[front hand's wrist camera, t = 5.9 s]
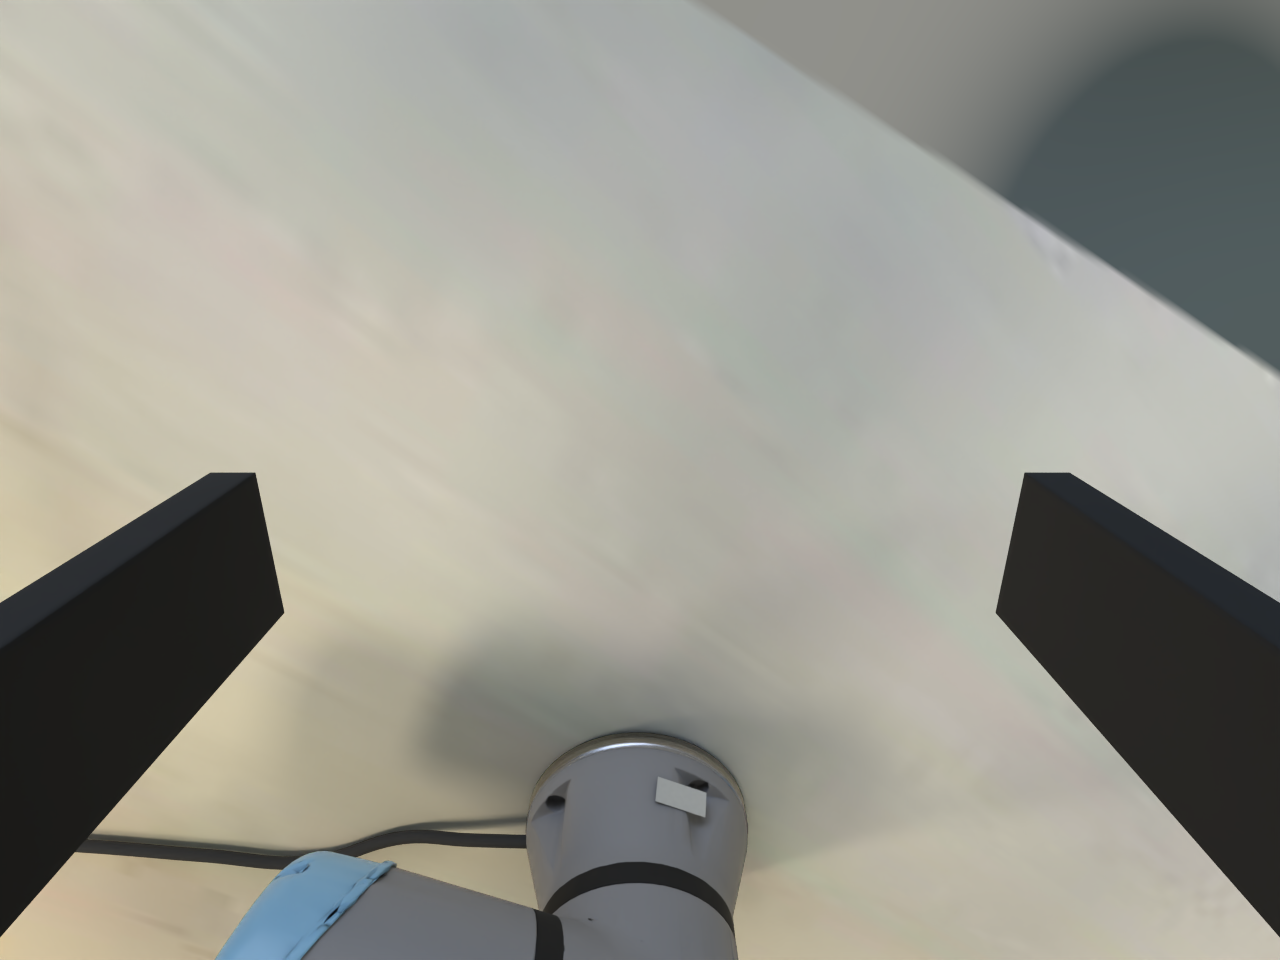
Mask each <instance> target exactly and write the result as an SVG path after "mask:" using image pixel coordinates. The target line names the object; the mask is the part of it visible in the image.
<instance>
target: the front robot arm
mask: <svg viewBox="0 0 1280 960" xmlns="http://www.w3.org/2000/svg"><path fill="white" fill-rule="evenodd" d="M283 614H284V609H283V604H282V599H281V594H280V589H279V585H278V580H277V575H276V570H275V565H274V560H273V556H272V551H271V546H270V541H269V536H268V531H267V527H266V522H265V517H264V512H263V507H262V503H261V498H260V493H259V488H258V483H257V478H256V474H255V473H209V474H208V475H206V476H204V477H203V478H201V479H200V480H198V481H196V482H195V483H193V484H191V485H190V486H188V487H187V488H185V489H183V490H182V491H180V492H179V493H177V494H175V495H174V496H172V497H170V498H169V499H167V500H166V501H164V502H162V503H161V504H159V505H158V506H156V507H154V508H153V509H151V510H149V511H148V512H146V513H145V514H143V515H141V516H140V517H138V518H137V519H135V520H133V521H132V522H130V523H128V524H127V525H125V526H124V527H122V528H120V529H119V530H117V531H116V532H114V533H112V534H111V535H109V536H108V537H106V538H104V539H103V540H101V541H99V542H98V543H96V544H95V545H93V546H91V547H90V548H88V549H87V550H85V551H83V552H82V553H80V554H78V555H77V556H75V557H74V558H72V559H70V560H69V561H67V562H66V563H64V564H62V565H61V566H59V567H57V568H56V569H54V570H53V571H51V572H49V573H48V574H46V575H45V576H43V577H41V578H40V579H38V580H36V581H35V582H33V583H32V584H30V585H28V586H27V587H25V588H24V589H22V590H20V591H19V592H17V593H15V594H14V595H12V596H11V597H9V598H7V599H6V600H4V601H3V602H1V603H0V937H1V936H2V935H3V933H4V932H5V931H6V930H7V929H8V928H9V927H10V925H11V924H12V923H13V922H14V921H15V920H16V919H17V917H18V916H19V915H20V914H21V913H22V912H23V911H24V909H25V908H26V907H27V906H28V905H29V904H30V903H31V901H32V900H33V899H34V898H35V897H36V896H37V895H38V893H39V892H40V891H41V890H42V889H43V888H44V887H45V885H46V884H47V883H48V882H49V881H50V880H51V879H52V877H53V876H54V875H55V874H56V873H57V872H58V871H59V869H60V868H61V867H62V866H63V865H64V864H65V863H66V861H67V860H68V859H69V858H70V857H71V856H72V855H73V853H74V852H82V853H97V854H110V855H123V856H135V857H147V858H158V859H170V860H182V861H195V862H208V863H219V864H228V865H236V866H245V867H253V868H263V869H279V870H282V871H281V872H280V873H279V874H278V875H277V876H276V877H275V878H274V879H273V880H272V882H271V883H270V884H269V885H268V886H267V887H266V889H265V890H264V891H263V892H262V893H261V895H260V896H259V897H258V899H257V900H256V901H255V902H254V904H253V905H252V907H251V908H250V909H249V911H248V912H247V913H246V915H245V916H244V917H243V919H242V920H241V922H240V923H239V925H238V926H237V927H236V929H235V930H234V932H233V933H232V935H231V936H230V938H229V939H228V940H227V942H226V943H225V945H224V946H223V948H222V949H221V951H220V952H219V954H218V955H217V957H216V958H215V960H738V954H737V946H736V941H735V933H734V924H733V914H734V909H735V904H736V899H737V895H738V890H739V885H740V880H741V875H742V871H743V866H744V861H745V856H746V852H747V839H748V824H747V818H746V812H745V807H744V801H743V797H742V794H741V791H740V789H739V787H738V785H737V783H736V781H735V780H734V778H733V776H732V775H731V774H730V773H729V771H728V770H727V769H726V768H725V767H724V766H723V765H722V764H721V763H720V762H719V761H718V760H717V759H716V758H714V757H713V756H712V755H710V754H709V753H707V752H706V751H704V750H702V749H701V748H699V747H697V746H695V745H693V744H691V743H688V742H686V741H683V740H680V739H677V738H674V737H670V736H666V735H660V734H654V733H620V734H614V735H608V736H604V737H600V738H597V739H593V740H590V741H588V742H585V743H583V744H581V745H579V746H577V747H575V748H573V749H571V750H569V751H568V752H566V753H565V754H563V755H562V756H561V757H559V758H558V759H557V760H556V761H554V762H553V763H552V764H551V765H550V766H549V767H548V769H547V770H546V771H545V772H544V773H543V775H542V776H541V778H540V779H539V781H538V782H537V784H536V787H535V789H534V791H533V794H532V797H531V801H530V806H529V811H528V816H527V822H526V835H507V834H472V833H455V832H445V831H434V830H409V831H401V832H394V833H389V834H385V835H381V836H378V837H375V838H371V839H369V840H366V841H363V842H360V843H358V844H355V845H352V846H349V847H347V848H344V849H340V850H337V851H334V852H329V851H317V852H312V853H309V854H306V855H304V856H293V857H288V856H267V855H258V854H249V853H241V852H233V851H224V850H213V849H201V848H188V847H175V846H164V845H152V844H141V843H129V842H116V841H103V840H89V839H87V838H88V836H89V835H90V834H91V833H92V832H93V831H94V830H95V828H96V827H97V826H98V825H99V824H100V823H101V822H102V820H103V819H104V818H105V817H106V816H107V815H108V814H109V812H110V811H111V810H112V809H113V808H114V807H115V806H116V804H117V803H118V802H119V801H120V800H121V799H122V798H123V796H124V795H125V794H126V793H127V792H128V791H129V790H130V788H131V787H132V786H133V785H134V784H135V783H136V782H137V780H138V779H139V778H140V777H141V776H142V775H143V774H144V772H145V771H146V770H147V769H148V768H149V767H150V766H151V764H152V763H153V762H154V761H155V760H156V759H157V758H158V756H159V755H160V754H161V753H162V752H163V751H164V750H165V748H166V747H167V746H168V745H169V744H170V743H171V742H172V740H173V739H174V738H175V737H176V736H177V735H178V734H179V732H180V731H181V730H182V729H183V728H184V727H185V726H186V724H187V723H188V722H189V721H190V720H191V719H192V718H193V716H194V715H195V714H196V713H197V712H198V711H199V710H200V708H201V707H202V706H203V705H204V704H205V703H206V702H207V700H208V699H209V698H210V697H211V696H212V695H213V694H214V692H215V691H216V690H217V689H218V688H219V687H220V686H221V684H222V683H223V682H224V681H225V680H226V679H227V678H228V676H229V675H230V674H231V673H232V672H233V671H234V670H235V669H236V667H237V666H238V665H239V664H240V663H241V662H242V661H243V659H244V658H245V657H246V656H247V655H248V654H249V653H250V651H251V650H252V649H253V648H254V647H255V646H256V645H257V643H258V642H259V641H260V640H261V639H262V638H263V637H264V635H265V634H266V633H267V632H268V631H269V630H270V629H271V627H272V626H273V625H274V624H275V623H276V622H277V621H278V619H279V618H280V617H281V616H282V615H283ZM996 614H997V615H998V616H999V617H1000V618H1001V619H1002V621H1003V622H1004V623H1005V624H1006V625H1007V626H1008V627H1009V629H1010V630H1011V631H1012V632H1013V633H1014V634H1015V635H1016V637H1017V638H1018V639H1019V640H1020V641H1021V642H1022V643H1023V645H1024V646H1025V647H1026V648H1027V649H1028V650H1029V651H1030V653H1031V654H1032V655H1033V656H1034V657H1035V658H1036V659H1037V661H1038V662H1039V663H1040V664H1041V665H1042V666H1043V667H1044V669H1045V670H1046V671H1047V672H1048V673H1049V674H1050V675H1051V677H1052V678H1053V679H1054V680H1055V681H1056V682H1057V683H1058V684H1059V686H1060V687H1061V688H1062V689H1063V690H1064V691H1065V692H1066V694H1067V695H1068V696H1069V697H1070V698H1071V699H1072V700H1073V702H1074V703H1075V704H1076V705H1077V706H1078V707H1079V708H1080V710H1081V711H1082V712H1083V713H1084V714H1085V715H1086V716H1087V718H1088V719H1089V720H1090V721H1091V722H1092V723H1093V724H1094V726H1095V727H1096V728H1097V729H1098V730H1099V731H1100V732H1101V734H1102V735H1103V736H1104V737H1105V738H1106V739H1107V740H1108V742H1109V743H1110V744H1111V745H1112V746H1113V747H1114V748H1115V750H1116V751H1117V752H1118V753H1119V754H1120V755H1121V756H1122V758H1123V759H1124V760H1125V761H1126V762H1127V763H1128V764H1129V766H1130V767H1131V768H1132V769H1133V770H1134V771H1135V772H1136V774H1137V775H1138V776H1139V777H1140V778H1141V779H1142V780H1143V782H1144V783H1145V784H1146V785H1147V786H1148V787H1149V788H1150V790H1151V791H1152V792H1153V793H1154V794H1155V795H1156V796H1157V798H1158V799H1159V800H1160V801H1161V802H1162V803H1163V804H1164V806H1165V807H1166V808H1167V809H1168V810H1169V811H1170V812H1171V814H1172V815H1173V816H1174V817H1175V818H1176V819H1177V820H1178V822H1179V823H1180V824H1181V825H1182V826H1183V827H1184V828H1185V830H1186V831H1187V832H1188V833H1189V834H1190V835H1191V836H1192V838H1193V839H1194V840H1195V841H1196V842H1197V843H1198V844H1199V845H1200V847H1201V848H1202V849H1203V850H1204V851H1205V852H1206V853H1207V855H1208V856H1209V857H1210V858H1211V859H1212V860H1213V861H1214V863H1215V864H1216V865H1217V866H1218V867H1219V868H1220V869H1221V871H1222V872H1223V873H1224V874H1225V875H1226V876H1227V877H1228V879H1229V880H1230V881H1231V882H1232V883H1233V884H1234V885H1235V887H1236V888H1237V889H1238V890H1239V891H1240V892H1241V893H1242V895H1243V896H1244V897H1245V898H1246V899H1247V900H1248V901H1249V903H1250V904H1251V905H1252V906H1253V907H1254V908H1255V909H1256V911H1257V912H1258V913H1259V914H1260V915H1261V916H1262V917H1263V919H1264V920H1265V921H1266V922H1267V923H1268V924H1269V925H1270V927H1271V928H1272V929H1273V930H1274V931H1275V932H1276V933H1277V935H1278V936H1279V937H1280V603H1279V602H1277V601H1276V600H1274V599H1273V598H1271V597H1269V596H1268V595H1266V594H1265V593H1263V592H1261V591H1260V590H1258V589H1256V588H1255V587H1253V586H1252V585H1250V584H1248V583H1247V582H1245V581H1244V580H1242V579H1240V578H1239V577H1237V576H1235V575H1234V574H1232V573H1231V572H1229V571H1227V570H1226V569H1224V568H1223V567H1221V566H1219V565H1218V564H1216V563H1214V562H1213V561H1211V560H1210V559H1208V558H1206V557H1205V556H1203V555H1202V554H1200V553H1198V552H1197V551H1195V550H1193V549H1192V548H1190V547H1189V546H1187V545H1185V544H1184V543H1182V542H1181V541H1179V540H1177V539H1176V538H1174V537H1172V536H1171V535H1169V534H1168V533H1166V532H1164V531H1163V530H1161V529H1160V528H1158V527H1156V526H1155V525H1153V524H1152V523H1150V522H1148V521H1147V520H1145V519H1143V518H1142V517H1140V516H1139V515H1137V514H1135V513H1134V512H1132V511H1131V510H1129V509H1127V508H1126V507H1124V506H1122V505H1121V504H1119V503H1118V502H1116V501H1114V500H1113V499H1111V498H1110V497H1108V496H1106V495H1105V494H1103V493H1101V492H1100V491H1098V490H1097V489H1095V488H1093V487H1092V486H1090V485H1089V484H1087V483H1085V482H1084V481H1082V480H1080V479H1079V478H1077V477H1076V476H1074V475H1072V474H1071V473H1025V474H1024V478H1023V483H1022V488H1021V493H1020V498H1019V503H1018V507H1017V512H1016V517H1015V522H1014V527H1013V531H1012V536H1011V541H1010V546H1009V551H1008V556H1007V560H1006V565H1005V570H1004V575H1003V580H1002V585H1001V589H1000V594H999V599H998V604H997V609H996ZM410 843H429V844H440V845H450V846H463V847H490V848H526V849H527V853H528V858H529V863H530V868H531V873H532V878H533V883H534V888H535V893H536V898H537V903H538V908H539V910H536V909H533V908H529V907H526V906H523V905H519V904H516V903H513V902H509V901H506V900H503V899H499V898H496V897H493V896H489V895H486V894H483V893H479V892H476V891H473V890H469V889H466V888H462V887H459V886H456V885H452V884H449V883H446V882H442V881H439V880H436V879H432V878H429V877H426V876H422V875H419V874H416V873H412V872H409V871H406V870H402V869H399V868H396V866H397V864H396V863H394V862H392V861H385V862H383V863H377V862H373V861H369V860H364V859H360V858H356V857H358V856H361V855H364V854H366V853H369V852H372V851H375V850H378V849H382V848H385V847H390V846H395V845H401V844H410Z"/></svg>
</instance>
